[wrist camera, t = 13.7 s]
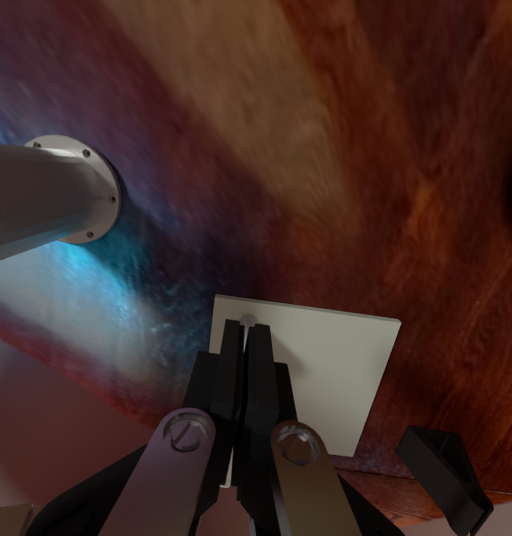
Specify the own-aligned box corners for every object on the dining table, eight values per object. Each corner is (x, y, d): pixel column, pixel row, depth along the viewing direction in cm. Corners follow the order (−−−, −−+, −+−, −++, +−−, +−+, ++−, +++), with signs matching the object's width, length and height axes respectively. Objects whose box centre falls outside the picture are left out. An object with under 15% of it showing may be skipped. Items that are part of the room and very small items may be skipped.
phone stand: (394, 450, 49) (435, 535, 38) (407, 424, 47) (455, 505, 36) (443, 459, 50) (498, 545, 38) (458, 433, 48) (521, 516, 36)
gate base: (200, 433, 48) (183, 511, 37) (216, 293, 39) (199, 341, 29) (351, 451, 49) (377, 531, 38) (398, 319, 40) (449, 374, 30)
